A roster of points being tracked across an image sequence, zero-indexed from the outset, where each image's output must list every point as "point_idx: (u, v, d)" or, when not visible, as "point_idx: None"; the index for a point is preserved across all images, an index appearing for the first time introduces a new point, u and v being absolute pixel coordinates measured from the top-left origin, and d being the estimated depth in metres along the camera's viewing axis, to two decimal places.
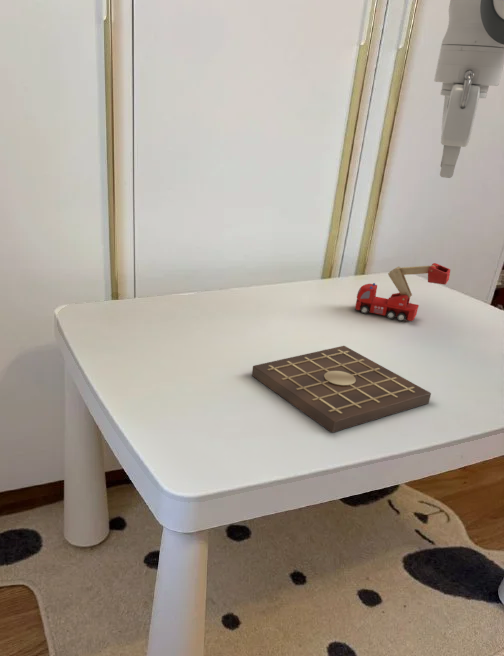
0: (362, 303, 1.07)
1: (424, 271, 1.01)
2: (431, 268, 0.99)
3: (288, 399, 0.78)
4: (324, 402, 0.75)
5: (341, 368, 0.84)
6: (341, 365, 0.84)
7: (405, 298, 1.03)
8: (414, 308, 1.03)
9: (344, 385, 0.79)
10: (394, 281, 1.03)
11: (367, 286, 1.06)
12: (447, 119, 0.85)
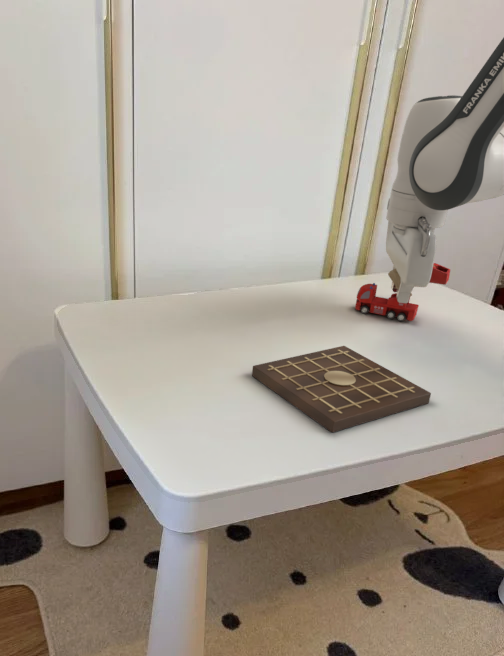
0: (362, 303, 1.07)
1: None
2: None
3: (288, 399, 0.78)
4: (324, 402, 0.75)
5: (341, 368, 0.84)
6: (341, 365, 0.84)
7: None
8: (414, 308, 1.03)
9: (344, 385, 0.79)
10: (394, 281, 1.03)
11: (367, 286, 1.06)
12: (410, 265, 0.92)
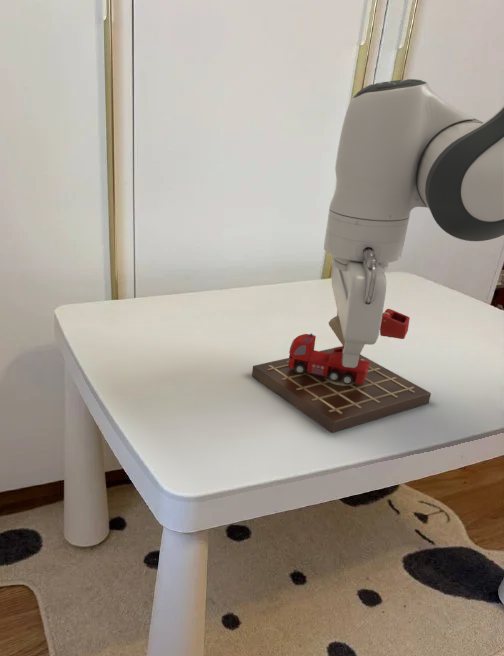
0: (296, 360, 0.81)
1: None
2: (384, 317, 0.73)
3: (288, 399, 0.78)
4: (324, 402, 0.75)
5: None
6: None
7: None
8: (364, 368, 0.78)
9: (344, 385, 0.79)
10: (337, 333, 0.78)
11: (303, 338, 0.80)
12: (350, 316, 0.66)
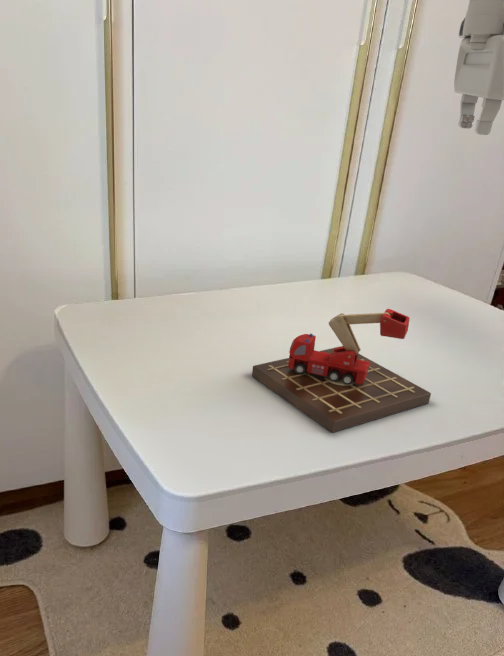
0: (296, 360, 0.81)
1: (375, 320, 0.75)
2: (384, 317, 0.73)
3: (288, 399, 0.78)
4: (324, 402, 0.75)
5: None
6: None
7: (351, 355, 0.77)
8: (364, 368, 0.78)
9: (344, 385, 0.79)
10: (337, 333, 0.78)
11: (303, 338, 0.80)
12: (496, 71, 0.81)
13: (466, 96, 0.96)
